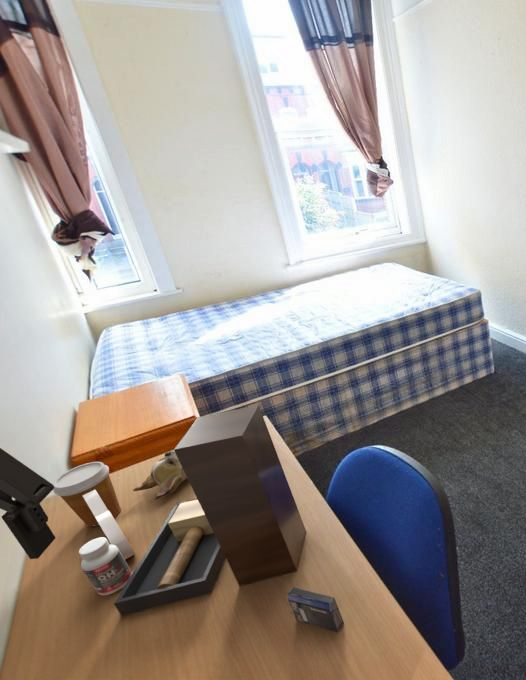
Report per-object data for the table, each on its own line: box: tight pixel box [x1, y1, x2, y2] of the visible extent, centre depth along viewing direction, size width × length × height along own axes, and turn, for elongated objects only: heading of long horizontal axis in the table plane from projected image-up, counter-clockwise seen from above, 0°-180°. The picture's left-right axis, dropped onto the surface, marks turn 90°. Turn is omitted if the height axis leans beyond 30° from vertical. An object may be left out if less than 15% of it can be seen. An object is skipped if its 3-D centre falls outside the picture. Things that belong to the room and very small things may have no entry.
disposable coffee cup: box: [52, 461, 122, 527], centre depth 104 cm, size 10×10×12 cm
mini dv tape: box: [286, 587, 345, 633], centre depth 75 cm, size 8×2×6 cm, turn 72°
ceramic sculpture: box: [132, 450, 188, 500], centre depth 114 cm, size 11×9×15 cm
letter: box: [82, 490, 135, 561], centre depth 96 cm, size 22×2×10 cm, turn 51°
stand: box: [173, 404, 307, 587], centre depth 84 cm, size 10×10×30 cm
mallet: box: [157, 499, 214, 589], centre depth 91 cm, size 20×8×5 cm, turn 13°
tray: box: [113, 497, 227, 617], centre depth 93 cm, size 26×15×3 cm, turn 13°
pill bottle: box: [78, 536, 133, 596], centre depth 86 cm, size 5×5×10 cm
